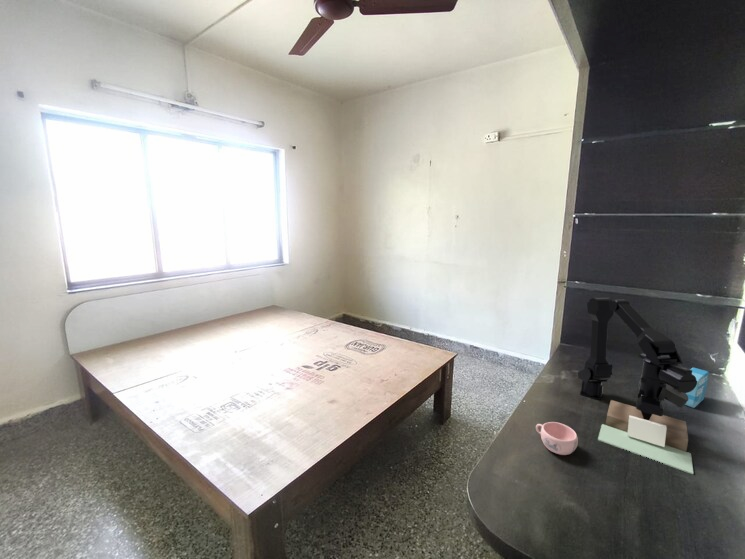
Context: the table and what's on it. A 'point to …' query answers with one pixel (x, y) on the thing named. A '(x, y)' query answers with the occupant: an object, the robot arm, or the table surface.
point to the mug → (558, 437)
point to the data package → (698, 387)
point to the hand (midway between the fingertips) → (646, 420)
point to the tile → (647, 431)
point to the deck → (675, 427)
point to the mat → (647, 449)
